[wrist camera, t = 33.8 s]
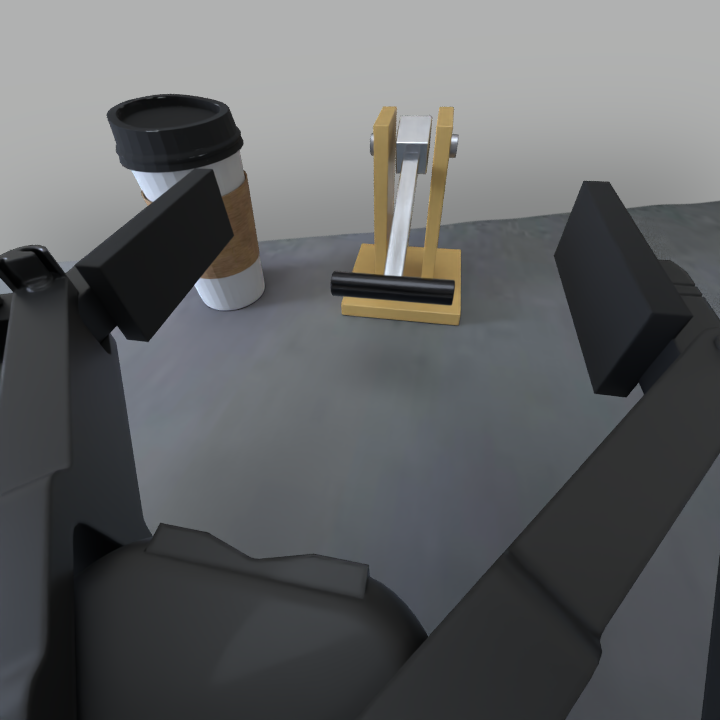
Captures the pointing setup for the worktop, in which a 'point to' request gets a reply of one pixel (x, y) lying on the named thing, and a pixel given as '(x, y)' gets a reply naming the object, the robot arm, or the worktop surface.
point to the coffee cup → (179, 157)
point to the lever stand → (429, 257)
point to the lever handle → (400, 231)
